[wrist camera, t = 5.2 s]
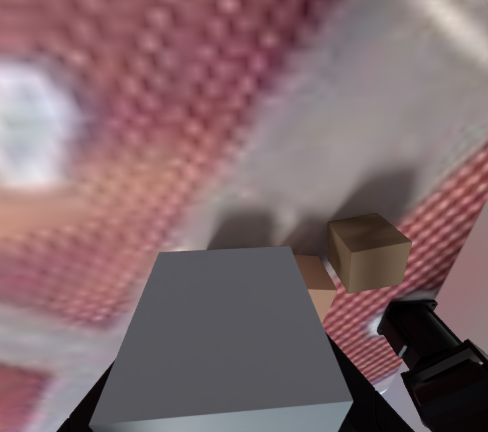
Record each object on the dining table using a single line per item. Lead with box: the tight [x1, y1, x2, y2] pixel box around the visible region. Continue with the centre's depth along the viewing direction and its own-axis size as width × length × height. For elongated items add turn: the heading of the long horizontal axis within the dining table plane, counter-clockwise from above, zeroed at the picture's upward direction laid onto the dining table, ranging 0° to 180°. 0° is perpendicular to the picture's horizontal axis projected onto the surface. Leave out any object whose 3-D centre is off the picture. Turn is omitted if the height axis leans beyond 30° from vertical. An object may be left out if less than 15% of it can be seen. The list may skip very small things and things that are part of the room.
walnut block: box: [328, 213, 412, 294], centre depth 22 cm, size 5×5×5 cm
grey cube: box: [89, 246, 353, 432], centre depth 8 cm, size 5×5×5 cm
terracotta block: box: [294, 255, 338, 323], centre depth 24 cm, size 5×5×5 cm
